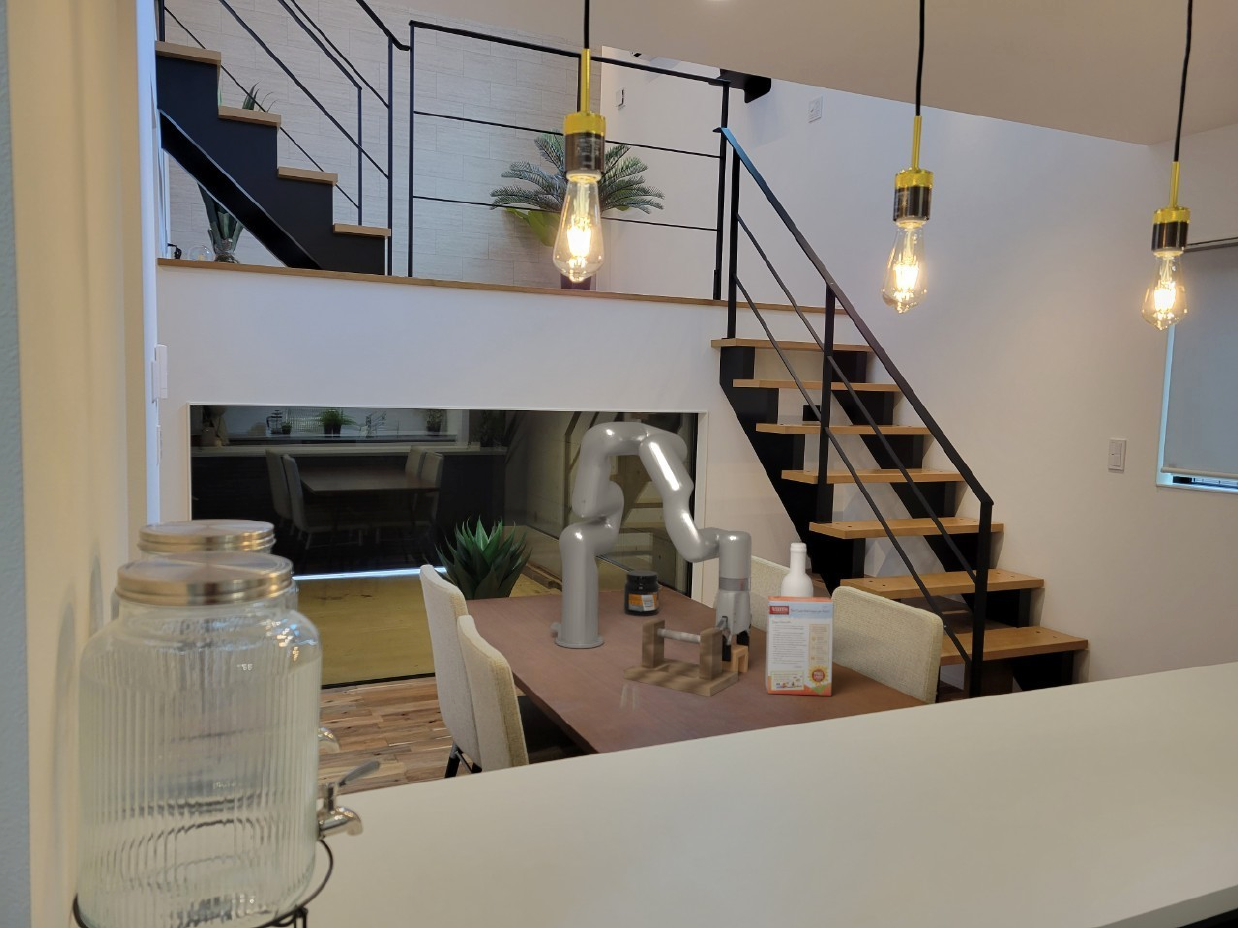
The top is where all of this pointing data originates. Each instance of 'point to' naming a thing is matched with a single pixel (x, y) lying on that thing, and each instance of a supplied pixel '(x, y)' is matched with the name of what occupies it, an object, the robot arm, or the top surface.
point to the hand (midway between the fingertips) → (733, 656)
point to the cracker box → (799, 645)
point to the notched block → (737, 659)
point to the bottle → (797, 574)
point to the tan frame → (659, 669)
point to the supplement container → (641, 593)
